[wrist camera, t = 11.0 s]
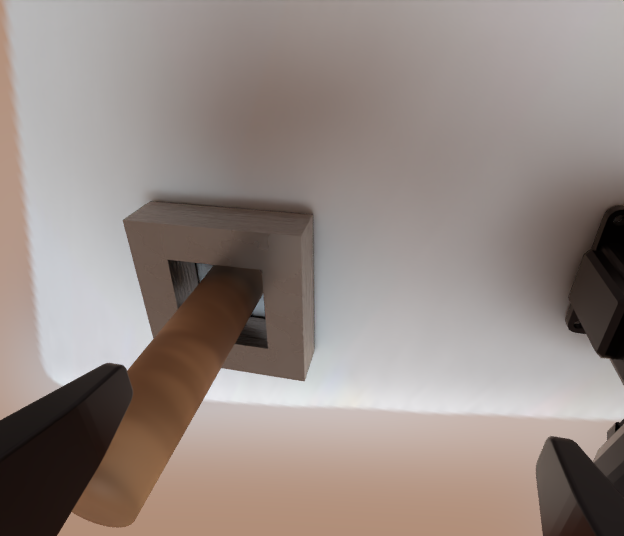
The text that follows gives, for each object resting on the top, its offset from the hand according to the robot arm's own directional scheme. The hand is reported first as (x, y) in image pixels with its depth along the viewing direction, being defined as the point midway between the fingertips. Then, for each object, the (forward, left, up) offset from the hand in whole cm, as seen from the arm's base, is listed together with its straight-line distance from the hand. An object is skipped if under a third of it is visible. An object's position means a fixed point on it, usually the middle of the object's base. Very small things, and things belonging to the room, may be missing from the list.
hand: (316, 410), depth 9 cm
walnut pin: (+7, +6, -13) cm, 16 cm away
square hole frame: (+7, +6, -13) cm, 16 cm away
